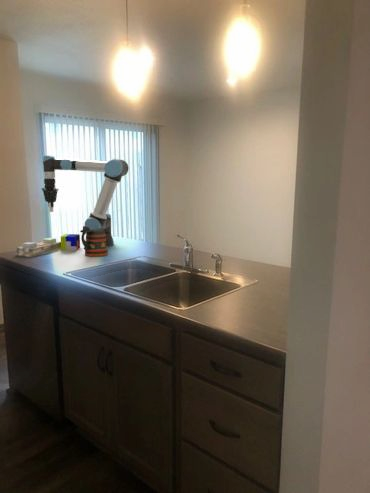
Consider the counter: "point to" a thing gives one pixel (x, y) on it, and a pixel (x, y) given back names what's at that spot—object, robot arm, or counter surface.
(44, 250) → the key console
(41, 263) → the counter surface
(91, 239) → the beer stein
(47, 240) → the key sage
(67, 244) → the puzzle toy
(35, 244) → the key slate
